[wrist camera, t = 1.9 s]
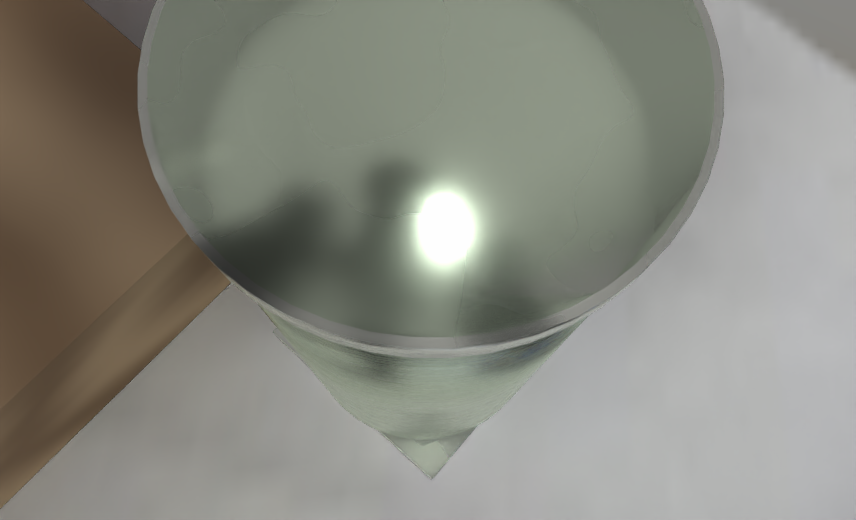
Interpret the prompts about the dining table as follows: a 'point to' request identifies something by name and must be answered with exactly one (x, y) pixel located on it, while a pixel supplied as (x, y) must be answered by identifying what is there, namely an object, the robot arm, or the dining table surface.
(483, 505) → the dining table surface
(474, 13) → the green drinking glass
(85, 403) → the walnut block
